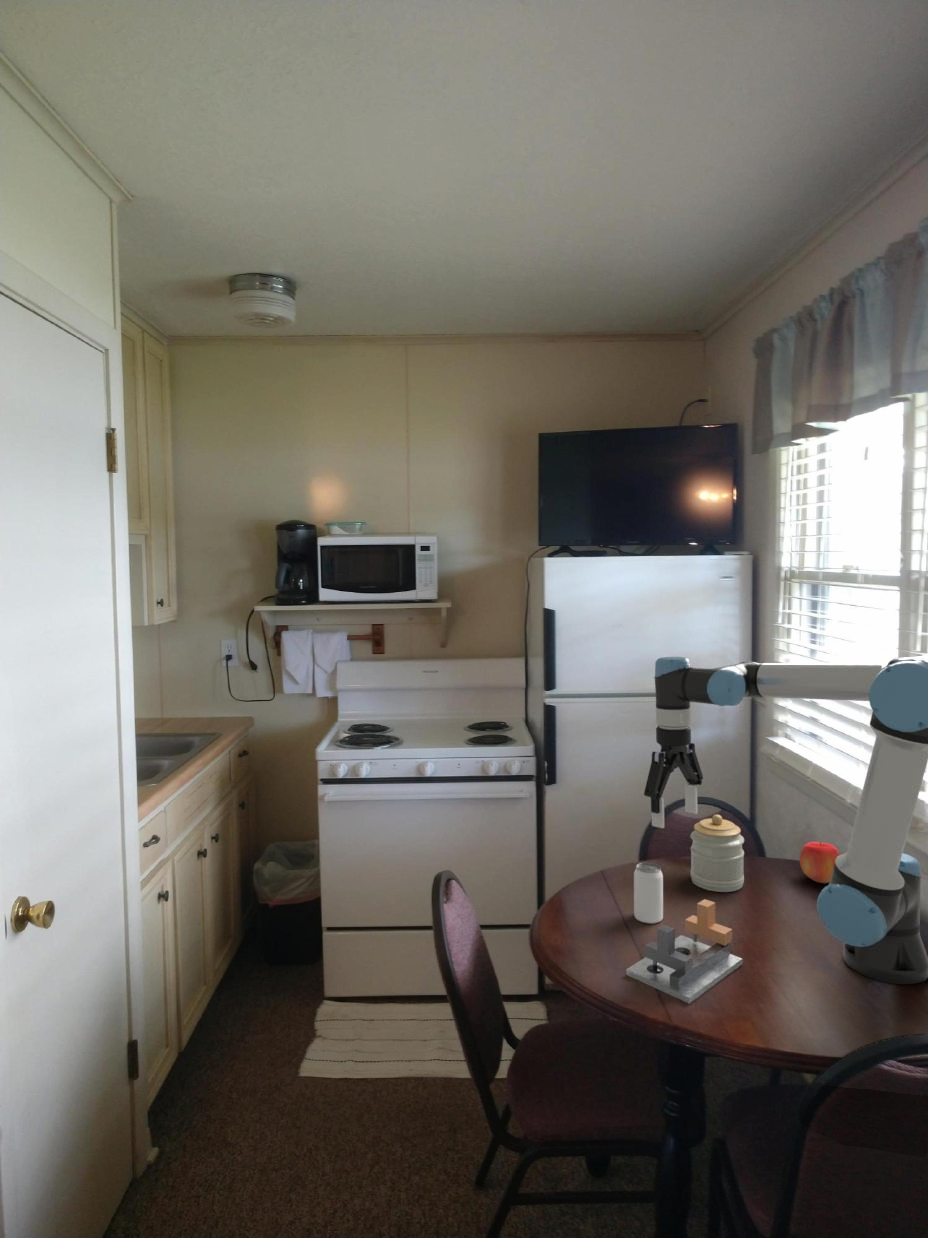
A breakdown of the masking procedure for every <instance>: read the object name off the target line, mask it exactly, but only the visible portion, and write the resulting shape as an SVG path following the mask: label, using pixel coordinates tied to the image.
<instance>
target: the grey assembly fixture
mask: <svg viewBox="0 0 928 1238" xmlns="http://www.w3.org/2000/svg"><path fill="white" fill-rule="evenodd" d="M675 931H676V929H675V927H672V926H669V925H667V924H662V925H660V926H659V927H657V929H656V933H657V934H656V939H657V940H656V942H655V941H650V942H648V943H646V944H645V945H644V958H642V959H640V960H639V961H637V962H635V963H634V964H633V965H631V966H629V967H628V968H626V974H625V975H626V976H628V977H630V978H632V979H635V980H637V981H638V982H641V983H642V984H643V983H644V984H646V985H647V986H650V987H652V988H655V989H656V990H658V991H661V992H663V993H664V994H667V995H670V997H673V998H676V999H679V1000H680V1001H682V1002H684V1003H687V1004H691V1003H692V1002H694V1001H695V1000H696V999H698V998H699V997H700V996H702V995H703V994H704V993H707V992H708V991H709V990H710V989H711V988H713V987H714V986H715V985H717V984H718V983H720V982H721V981H722V980H723V979H725V978H726V977H727V976H729V975H730V974H731V973H733V972H734V971H736V970H737V969H738V968H740V966H742V965H743V958H741V957H740V956H737V955H734V954H732V953H731V951H730V950H731V948H730V947H731V944H730V942H729V943H728V944H727V945H725V946H724V945H722V944H719V943H716V942H715V944H713V945H711V946H710V945H708V944H706V943H703V942H700V941H698V942H694V941H693V938H690V937H688V936H686V935H682V934H681V935H679V936H678V937H676V934H675V933H676V932H675Z"/></svg>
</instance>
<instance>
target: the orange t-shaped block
mask: <svg viewBox="0 0 928 1238" xmlns="http://www.w3.org/2000/svg"><path fill="white" fill-rule="evenodd" d="M696 910H697V911H696V913H697V914H696V915H694V914H693V915H690V916H689V917H687V918H686V919H684V920H685V921H684V922H685V923H684V925H685V930H684V931H685V932H687V933H691V934H692V939H693V941H694V942H699V939H698V937H701V938H704V939H706V940H708V941H712V942H714V943H715V944H716V943H719V944H722V945H724V946H725V945H727V944H728V943H729V944H730V943H731V942H732V941H733V929H732V928H730V927H727V926H724V925H722V924H720V923H716V902H715V901H712V900H708V899H705V898H704V899H702V900H701V901H699V902H697V904H696Z"/></svg>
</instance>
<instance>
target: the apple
mask: <svg viewBox="0 0 928 1238" xmlns="http://www.w3.org/2000/svg"><path fill="white" fill-rule="evenodd" d="M839 855H841V854H840V852H839V850H838V849H837V848H836V846H834V845H833V844H830V843H829V842H819V841H811V842H807V843H806V844H804V846H802V849H801V850H800V854H799V864H800V867H801V868H800V869H801V870H802V872H803V873H804V875H806V876H807V877H808V878H809V879H811V880H812V881H814V882H816V883H820V884H827V883H828V884H829V883H830V879H831V875H832V872H833V868H834V864H835V860H836V858H837V857H838V856H839Z"/></svg>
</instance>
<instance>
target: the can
mask: <svg viewBox="0 0 928 1238" xmlns="http://www.w3.org/2000/svg"><path fill="white" fill-rule="evenodd" d="M661 870H662V868H661V866H660V865H659V864H656V863H653V862H640V863H638V864H636V865H635V870H634V872H633V913H634V914H633V916H634V918H635V919H636V920H637V921H638V922H640V923H642V924H648V925H650V924H652V925H654V924H658V923H660V922H661V921H662V920H663V918H664V874H663V872H662V871H661Z"/></svg>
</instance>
